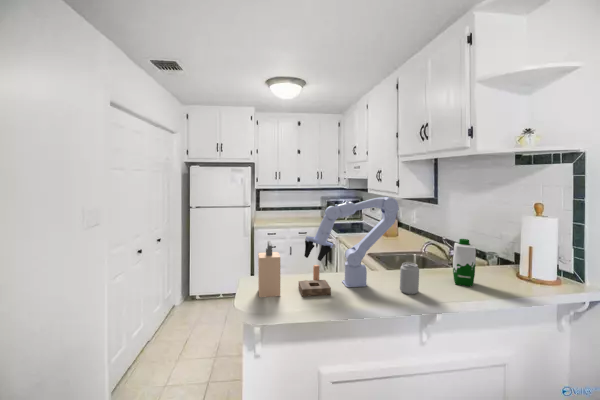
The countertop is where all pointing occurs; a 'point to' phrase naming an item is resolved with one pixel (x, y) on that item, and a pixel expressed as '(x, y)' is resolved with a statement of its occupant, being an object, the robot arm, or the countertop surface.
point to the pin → (316, 272)
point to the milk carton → (464, 263)
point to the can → (409, 278)
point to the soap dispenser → (269, 273)
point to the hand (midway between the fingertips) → (312, 258)
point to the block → (314, 288)
